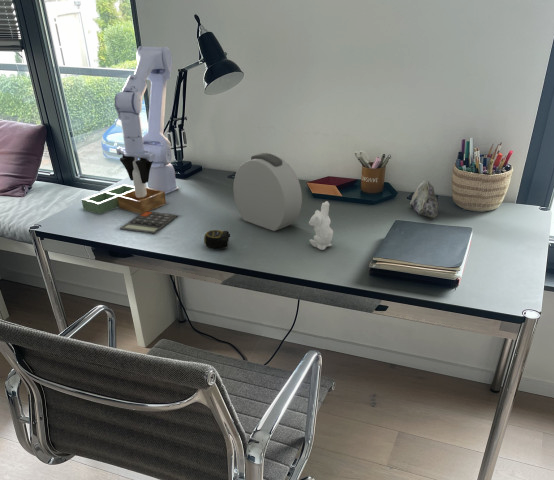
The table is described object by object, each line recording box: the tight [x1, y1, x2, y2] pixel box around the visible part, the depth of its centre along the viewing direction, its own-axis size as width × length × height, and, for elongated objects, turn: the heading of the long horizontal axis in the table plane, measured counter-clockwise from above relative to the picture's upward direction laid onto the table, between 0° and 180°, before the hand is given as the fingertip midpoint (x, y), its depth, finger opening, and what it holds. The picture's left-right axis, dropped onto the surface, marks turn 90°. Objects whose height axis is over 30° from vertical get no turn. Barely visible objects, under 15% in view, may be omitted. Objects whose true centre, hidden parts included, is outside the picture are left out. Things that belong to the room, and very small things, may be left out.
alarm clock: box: [232, 152, 303, 232], centre depth 165 cm, size 21×8×20 cm, turn 47°
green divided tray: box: [81, 183, 135, 215], centre depth 183 cm, size 18×8×3 cm, turn 147°
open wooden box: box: [117, 186, 167, 215], centre depth 181 cm, size 11×10×4 cm
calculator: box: [119, 211, 178, 235], centre depth 171 cm, size 12×1×15 cm
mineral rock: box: [409, 179, 439, 219], centre depth 173 cm, size 13×11×10 cm
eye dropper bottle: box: [132, 157, 147, 198], centre depth 177 cm, size 4×6×12 cm
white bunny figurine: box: [308, 200, 334, 251], centre depth 152 cm, size 8×7×12 cm
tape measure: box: [203, 229, 231, 250], centre depth 155 cm, size 7×7×4 cm
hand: (139, 181), depth 177 cm, fingers closed on eye dropper bottle, 4 cm apart
